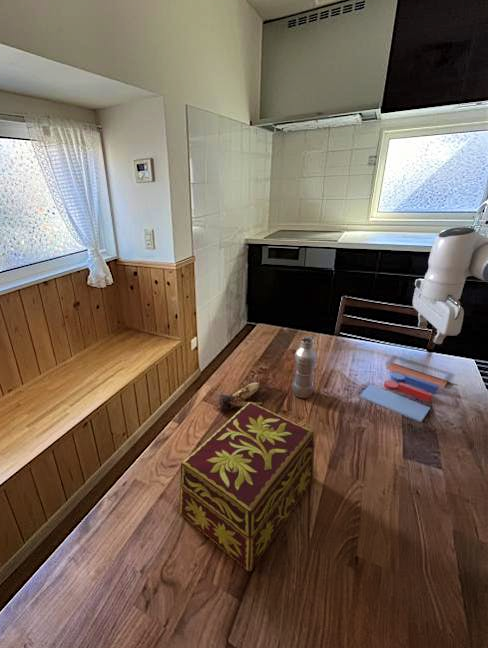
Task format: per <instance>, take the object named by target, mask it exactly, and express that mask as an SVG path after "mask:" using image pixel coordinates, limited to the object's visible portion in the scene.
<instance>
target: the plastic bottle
mask: <svg viewBox="0 0 488 648" xmlns="http://www.w3.org/2000/svg"><path fill="white" fill-rule="evenodd" d="M314 341H315V340H314V339H313V338H312V337H308V336H305V337H301V339H300V344H299V347H298V348H297V349H296V351H295V353H294V359H295V374H294V380H293V381H292V386H291V387H292V393H293V394H294V395H295V396H296V397H297V398H300V399H308V398H310V397H311V396H313V392H314V382H313V381H314V372H315V371H314V370H315V366H316V361H317V357H318V355H317V352H316V350H315V349H314V346H315V345H314V343H315V342H314Z"/></svg>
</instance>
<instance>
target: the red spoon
mask: <svg viewBox="0 0 488 648" xmlns="http://www.w3.org/2000/svg"><path fill="white" fill-rule="evenodd" d="M383 386H384V388H385V389H387V390H390V391H397V392H399V393H403V394H406V395H409V396H410V397H414V398H416V399H419V400H422V401H423V402H426V403H430V402H431V401H432V398H433V395H434V393H432V392H429V391H426V390H423V389H421V388H418V387H415V386H412V385H410V384H407V383H404V382H396V381H394V380H392V379H387V380H385V381H384V384H383Z"/></svg>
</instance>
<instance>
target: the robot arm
mask: <svg viewBox="0 0 488 648" xmlns="http://www.w3.org/2000/svg"><path fill="white" fill-rule="evenodd" d="M427 265H428V268H427V271H426V272H425V274H424V277H423V278H417V279H415V282H414V286H415V288H414V292H413V296H412V308H413V309H414V310H415V311H416V312H418V314H417V317H418V323H417V327H418V328H420V329H421V330H422V329H424V330H425V329H427V328H428V325H429V324H431V325H432V326H433V328H435V329H436V333H437V334H435V335H433V338H432V342H433V343H435V344H436V345H442V344H443V342H444V339H445V338H446V337H447V336H458V335H459V334H460V333H461V330H462V326H463V322H464V315H465V311H464V308H463V307H462V306H461V301H460V299H461V296H462V293H463V289H464V286H465V283H466V279H467V278H468V277H475V278H476V279H479V280H481V281H483V282H486V283H487V284H488V237H487V236H485V235H482V234H481V233H479V232H478V231H476V229H475V228H473V227H467V226H463V227H462V226H461V227H460V226H459V227H458V226H457V227H450V228H446V229H444V230H442V231H440V232H439V233H438V235H436V237H435V239H434V241H433V244H432V246H431V249H430V253H429V256H428V260H427Z"/></svg>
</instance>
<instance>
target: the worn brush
mask: <svg viewBox="0 0 488 648" xmlns="http://www.w3.org/2000/svg"><path fill="white" fill-rule="evenodd" d="M260 389H261V384H260V383H259V382H258V381H256V382H255V381H254V382H251V383H249V384H246V385H245V386H243V387H242V388H240V389H239V390H238V391H236V392H234V393H233V394H231V395H230V396H229V395H227V394H222V393H221V394H219V395H218V398H219V399H218V402H219V405H218V406H217V411H218V412H220V413H225V412H226V413H228V412H230V411H231V410H232V409H233V408H236V407H237V408H241V409H242V408H243V407H244V406H245V405H246V404H247V403H249V402H250V401H247V400H248V399H249V398H250V397H252V396H253V395H254V394H255V393H256V392H258V390H260ZM251 402H252V401H251ZM252 403H254V404H256V405H258V406H262V405H263V404H262V403H263V401H261V402H254V401H253V402H252ZM227 411H228V412H227Z"/></svg>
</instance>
